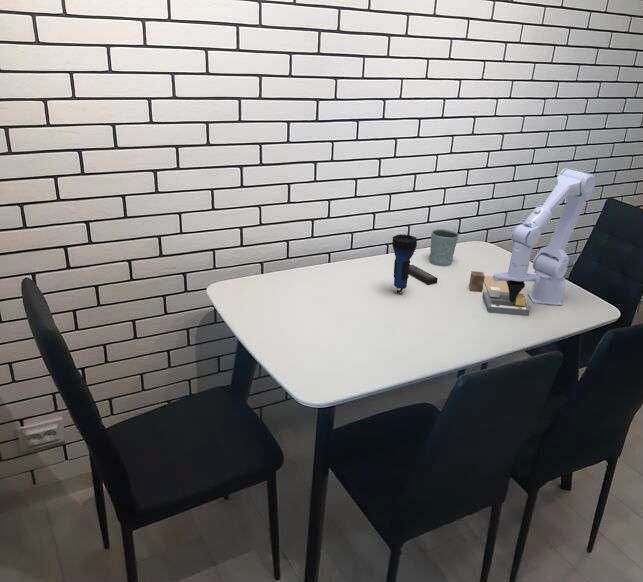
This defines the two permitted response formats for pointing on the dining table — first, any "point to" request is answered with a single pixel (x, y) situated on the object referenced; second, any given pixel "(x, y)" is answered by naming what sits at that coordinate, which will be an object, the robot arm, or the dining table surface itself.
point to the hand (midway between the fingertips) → (511, 301)
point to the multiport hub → (422, 275)
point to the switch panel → (504, 305)
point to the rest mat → (497, 285)
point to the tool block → (476, 281)
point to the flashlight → (402, 258)
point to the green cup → (442, 247)
